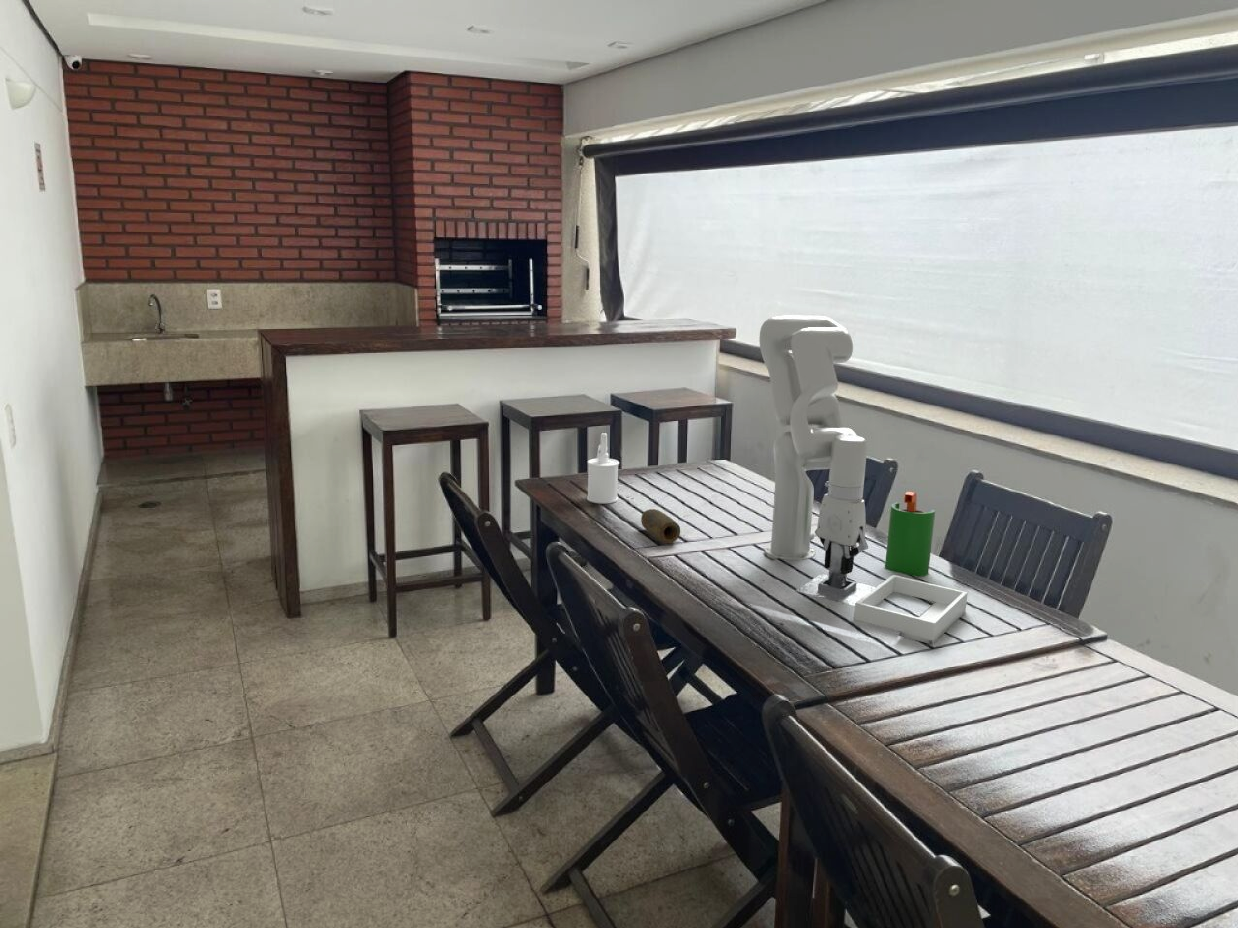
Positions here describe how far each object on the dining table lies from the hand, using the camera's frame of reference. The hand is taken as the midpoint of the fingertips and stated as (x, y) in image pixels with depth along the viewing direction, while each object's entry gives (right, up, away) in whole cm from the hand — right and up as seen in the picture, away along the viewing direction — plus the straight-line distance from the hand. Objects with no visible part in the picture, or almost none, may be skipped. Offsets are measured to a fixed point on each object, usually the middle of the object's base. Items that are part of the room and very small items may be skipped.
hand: (838, 569), depth 217 cm
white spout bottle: (-54, +13, +71) cm, 90 cm away
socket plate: (0, -5, +1) cm, 6 cm away
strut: (0, -3, +1) cm, 3 cm away
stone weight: (-38, +4, +38) cm, 54 cm away
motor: (+20, -2, +17) cm, 26 cm away
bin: (+13, -9, -11) cm, 19 cm away
